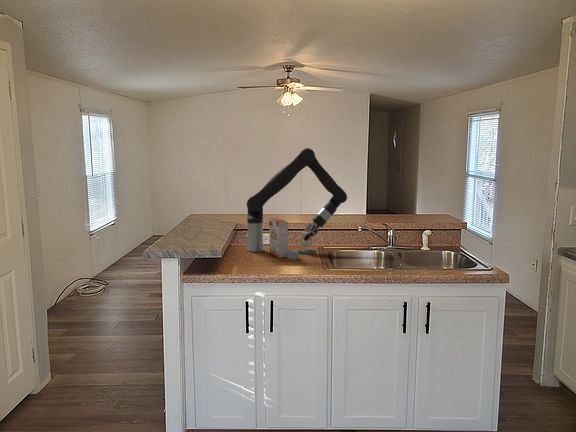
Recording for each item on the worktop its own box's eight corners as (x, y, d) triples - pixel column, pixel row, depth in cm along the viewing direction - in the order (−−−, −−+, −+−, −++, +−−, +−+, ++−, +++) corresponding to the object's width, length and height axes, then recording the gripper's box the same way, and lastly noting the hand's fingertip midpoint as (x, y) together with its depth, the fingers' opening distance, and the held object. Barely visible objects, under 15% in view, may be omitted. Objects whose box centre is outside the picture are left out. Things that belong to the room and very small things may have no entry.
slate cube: (287, 258, 273) (287, 251, 273) (292, 257, 277) (292, 249, 276) (293, 259, 271) (293, 252, 270) (298, 258, 274) (298, 250, 274)
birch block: (300, 245, 289) (300, 232, 288) (308, 244, 291) (308, 231, 290) (303, 246, 285) (303, 233, 284) (311, 246, 286) (311, 232, 285)
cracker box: (269, 253, 287) (268, 218, 284) (278, 252, 289) (278, 217, 286) (278, 258, 274) (278, 221, 271) (288, 257, 277) (288, 220, 274)
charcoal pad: (295, 253, 288) (295, 250, 288) (303, 250, 294) (303, 248, 294) (308, 255, 282) (308, 252, 282) (316, 252, 289) (316, 250, 289)
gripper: (313, 212, 294) (294, 233, 292) (322, 215, 281) (303, 237, 279) (321, 220, 297) (303, 241, 295) (331, 223, 283) (311, 245, 281)
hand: (303, 238), depth 287 cm, fingers closed on birch block, 5 cm apart
